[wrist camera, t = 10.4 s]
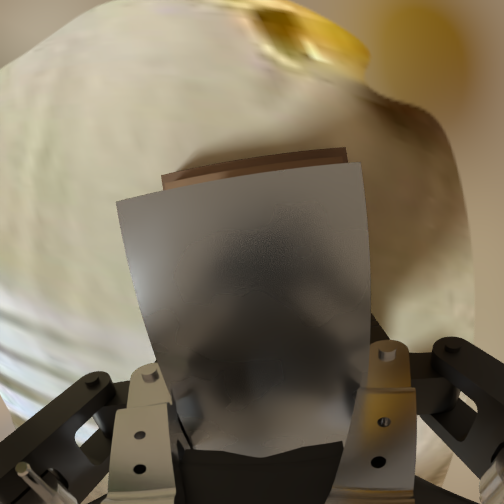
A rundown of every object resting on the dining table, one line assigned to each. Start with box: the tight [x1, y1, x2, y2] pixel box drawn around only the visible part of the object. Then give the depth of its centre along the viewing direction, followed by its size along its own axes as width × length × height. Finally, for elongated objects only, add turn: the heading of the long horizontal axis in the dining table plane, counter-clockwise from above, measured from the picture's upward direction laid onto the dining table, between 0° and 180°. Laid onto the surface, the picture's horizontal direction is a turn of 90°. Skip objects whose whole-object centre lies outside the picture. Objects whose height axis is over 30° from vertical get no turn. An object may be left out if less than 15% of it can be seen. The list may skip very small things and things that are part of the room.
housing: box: [116, 162, 371, 458], centre depth 9 cm, size 5×10×6 cm, turn 9°
